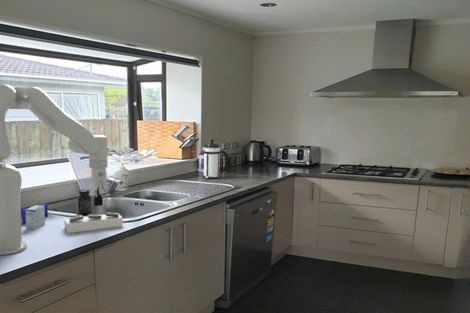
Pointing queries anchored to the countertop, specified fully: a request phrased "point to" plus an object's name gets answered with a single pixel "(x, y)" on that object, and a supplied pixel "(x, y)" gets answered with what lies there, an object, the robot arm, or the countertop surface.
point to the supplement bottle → (84, 202)
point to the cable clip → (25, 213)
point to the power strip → (92, 223)
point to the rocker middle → (94, 216)
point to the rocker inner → (76, 218)
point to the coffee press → (213, 160)
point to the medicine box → (35, 217)
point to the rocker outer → (112, 214)
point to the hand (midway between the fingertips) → (98, 205)
